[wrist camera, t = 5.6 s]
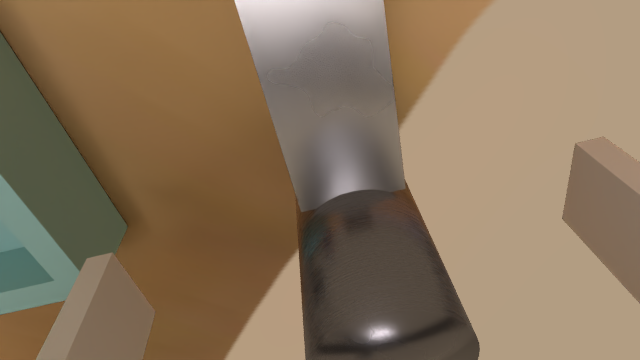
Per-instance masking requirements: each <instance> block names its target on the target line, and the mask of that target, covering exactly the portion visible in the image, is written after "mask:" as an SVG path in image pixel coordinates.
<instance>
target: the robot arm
mask: <svg viewBox="0 0 640 360" xmlns="http://www.w3.org/2000/svg"><path fill="white" fill-rule="evenodd" d="M562 219H563V220H564V221H565V222H566V223H567V224H568V226H569V227H570V228H571V229H572V230H573V231H574V232H575V233H576V234H577V235H578V236H579V238H580V239H581V240H582V241H583V242H584V243H585V244H586V245H587V246H588V247H589V248H590V249H591V251H592V252H593V253H594V254H595V255H596V256H597V257H598V258H599V259H600V260H601V262H602V263H603V264H604V265H605V266H606V267H607V268H608V269H609V270H610V271H611V272H612V274H613V275H614V276H615V277H616V278H617V279H618V280H619V281H620V282H621V283H622V285H623V286H624V287H625V288H626V289H627V290H628V291H629V292H630V293H631V294H632V295H633V297H634V298H635V299H636V300H637V301H638V302H639V303H640V162H638V161H637V160H635V159H634V158H633V157H631V156H630V155H629V154H627V153H626V152H624V151H623V150H622V149H620V148H619V147H617V146H616V145H615V144H613V143H612V142H610V141H609V140H608V139H606V138H605V137H600V138H596V139H592V140H588V141H584V142H579V143H576V144H575V148H574V154H573V160H572V165H571V171H570V177H569V182H568V188H567V194H566V200H565V205H564V211H563V217H562ZM154 316H155V310H154V309H153V307H152V306H151V305H150V303H149V302H148V301H147V299H146V298H145V296H144V295H143V294H142V292H141V291H140V289H139V288H138V287H137V285H136V284H135V283H134V281H133V280H132V278H131V277H130V276H129V274H128V273H127V272H126V270H125V269H124V267H123V266H122V265H121V263H120V262H119V261H118V259H117V258H116V256H115V255H114V254H113V252H112V253H108V254H104V255H99V256H95V257H91V258H87V259H86V261H85V263H84V265H83V267H82V269H81V271H80V273H79V275H78V277H77V279H76V281H75V283H74V285H73V287H72V289H71V291H70V293H69V295H68V297H67V299H66V301H65V303H64V305H63V307H62V309H61V310H60V312H59V314H58V316H57V318H56V320H55V322H54V324H53V326H52V328H51V330H50V332H49V334H48V336H47V338H46V340H45V342H44V344H43V346H42V348H41V350H40V352H39V354H38V356H37V358H36V360H143V356H144V352H145V349H146V345H147V341H148V338H149V334H150V330H151V327H152V323H153V319H154Z"/></svg>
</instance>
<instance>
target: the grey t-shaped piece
mask: <svg viewBox="0 0 640 360" xmlns="http://www.w3.org/2000/svg"><path fill="white" fill-rule="evenodd" d="M234 1H235V4H236V7H237V10H238V13H239V17H240V20H241V23H242V26H243V29H244V32H245V36H246V39H247V42H248V45H249V48H250V51H251V55H252V58H253V61H254V64H255V67H256V70H257V74H258V77H259V80H260V83H261V86H262V89H263V92H264V96H265V99H266V102H267V105H268V108H269V111H270V115H271V118H272V121H273V124H274V127H275V130H276V134H277V137H278V140H279V143H280V146H281V149H282V153H283V156H284V159H285V162H286V165H287V168H288V172H289V175H290V178H291V181H292V184H293V187H294V191H295V197H296V213H297V229H298V245H299V261H300V277H301V293H302V309H303V325H304V341H305V356H306V360H478V357H479V350H480V348H479V342H478V339H477V336H476V334H475V332H474V330H473V328H472V326H471V323H470V321H469V319H468V317H467V315H466V312H465V310H464V308H463V306H462V304H461V302H460V299H459V297H458V295H457V293H456V290H455V288H454V286H453V284H452V282H451V280H450V277H449V275H448V273H447V271H446V269H445V266H444V264H443V262H442V260H441V258H440V256H439V253H438V251H437V249H436V247H435V244H434V242H433V240H432V238H431V236H430V234H429V231H428V229H427V227H426V225H425V223H424V220H423V219H422V216H421V214H420V212H419V210H418V207H417V205H416V203H415V201H414V199H413V196H412V194H411V192H410V190H409V188H408V185H407V183H406V181H405V179H404V171H403V162H402V154H401V146H400V137H399V128H398V120H397V111H396V103H395V94H394V86H393V77H392V69H391V60H390V52H389V43H388V35H387V26H386V18H385V9H384V1H383V0H234Z"/></svg>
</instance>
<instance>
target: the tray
mask: <svg viewBox="0 0 640 360" xmlns="http://www.w3.org/2000/svg"><path fill="white" fill-rule="evenodd" d="M127 227H128V226H127V225H126V223H125V221H124V220H123V218H122V217H121V215H120V214H119V212H118V211H117V209H116V208H115V206H114V205H113V203H112V202H111V200H110V199H109V197H108V196H107V194H106V192H105V191H104V189H103V188H102V186H101V185H100V183H99V182H98V180H97V179H96V177H95V176H94V174H93V173H92V171H91V170H90V168H89V167H88V165H87V163H86V162H85V160H84V159H83V157H82V156H81V154H80V153H79V151H78V150H77V148H76V147H75V145H74V144H73V142H72V141H71V139H70V137H69V136H68V134H67V133H66V131H65V130H64V128H63V127H62V125H61V124H60V122H59V121H58V119H57V118H56V116H55V115H54V113H53V112H52V110H51V108H50V107H49V105H48V104H47V102H46V101H45V99H44V98H43V96H42V95H41V93H40V92H39V90H38V89H37V87H36V86H35V84H34V83H33V81H32V79H31V78H30V76H29V75H28V73H27V72H26V70H25V69H24V67H23V66H22V64H21V63H20V61H19V60H18V58H17V57H16V55H15V53H14V52H13V50H12V49H11V47H10V46H9V44H8V43H7V41H6V40H5V38H4V37H3V35H2V34H1V32H0V315H2V314H6V313H11V312H15V311H20V310H24V309H29V308H33V307H38V306H42V305H47V304H51V303H56V302H60V301H65V300H66V299H67V297H68V295H69V293H70V291H71V289H72V287H73V285H74V283H75V281H76V279H77V277H78V275H79V273H80V271H81V269H82V267H83V265H84V263H85V261H86V259H87V258H91V257H95V256H99V255H104V254H108V253H112V252H113V254H114V255H115V254H116V252H117V249H118V247H119V245H120V243H121V241H122V238H123V236H124V234H125V232H126V230H127Z"/></svg>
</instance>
